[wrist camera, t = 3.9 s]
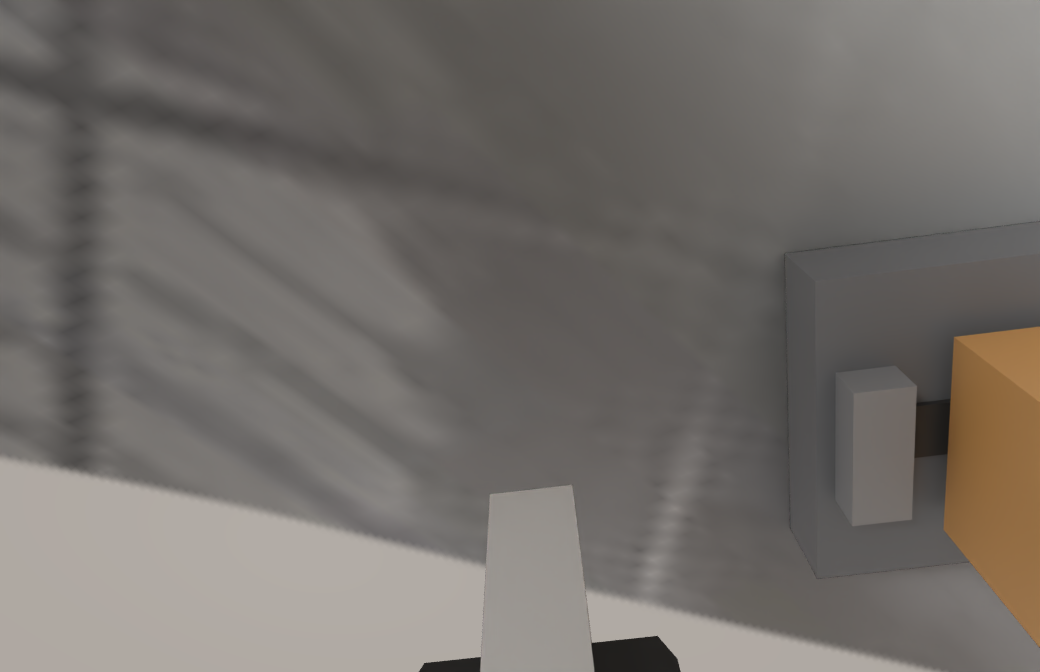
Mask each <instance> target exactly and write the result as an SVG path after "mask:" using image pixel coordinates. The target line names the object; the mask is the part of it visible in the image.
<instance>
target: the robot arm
mask: <svg viewBox="0 0 1040 672" xmlns="http://www.w3.org/2000/svg"><path fill="white" fill-rule="evenodd" d="M483 612H484V613H483V629H482V649H481V657H478V658H470V659H469V658H468V659H459V660H450V661H440V662H431V663H424V665H423V667H422V668H421V669H420V671H419V672H680V668H679V664H678V660H677V658H676V657H675V656H674V655H673V653H672V652H671V651H670V650H669V649H668V648H667V646H666V645H665V644H664V643H663V642H662V641H661V640H660V638H659V637H658V636H653V637H645V638H634V639H625V640H615V641H606V642H597V643H592V641H591V632H590V625H589V615H588V607H587V599H586V591H585V583H584V574H583V566H582V558H581V550H580V542H579V534H578V526H577V518H576V510H575V502H574V494H573V486H572V485H565V486H557V487H548V488H539V489H531V490H522V491H513V492H505V493H496V494H490V501H489V519H488V537H487V556H486V574H485V592H484V611H483Z"/></svg>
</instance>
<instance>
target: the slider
mask: <svg viewBox="0 0 1040 672" xmlns="http://www.w3.org/2000/svg"><path fill="white" fill-rule="evenodd" d="M944 531H945V532H946V533H947V535H948V536H949V537H950V538H951V539H952V541H953V542H954V543H955V544H956V546H957V547H958V548H959V549H960V550H961V552H962V553H963V554H964V555H965V557H966V558H967V559H968V560H969V562H970V563H971V564H972V565H973V566H974V568H975V569H976V570H977V571H978V573H979V574H980V575H981V576H982V577H983V579H984V580H985V581H986V582H987V584H988V585H989V586H990V587H991V588H992V590H993V591H994V592H995V593H996V595H997V596H998V597H999V598H1000V600H1001V601H1002V602H1003V603H1004V604H1005V606H1006V607H1007V608H1008V609H1009V611H1010V612H1011V613H1012V614H1013V615H1014V617H1015V618H1016V619H1017V620H1018V622H1019V623H1020V624H1021V625H1022V627H1023V628H1024V629H1025V630H1026V631H1027V633H1028V634H1029V635H1030V636H1031V638H1032V639H1033V640H1034V641H1035V642H1036V644H1037V645H1038V646H1039V647H1040V327H1032V328H1024V329H1015V330H1007V331H999V332H991V333H982V334H974V335H966V336H958V337H954V347H953V365H952V383H951V402H950V420H949V438H948V456H947V475H946V493H945V511H944Z"/></svg>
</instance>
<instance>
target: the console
mask: <svg viewBox="0 0 1040 672" xmlns="http://www.w3.org/2000/svg"><path fill="white" fill-rule="evenodd" d="M785 289H786V339H787V389H788V438H789V488H790V529H791V530H792V532H793V534H794V536H795V538H796V540H797V542H798V544H799V546H800V547H801V549H802V551H803V553H804V555H805V557H806V559H807V561H808V563H809V565H810V566H811V568H812V570H813V572H814V574H815V576H816V578H817V579H822V578H831V577H839V576H848V575H857V574H866V573H875V572H884V571H893V570H902V569H911V568H920V567H929V566H938V565H947V564H955V563H964V562H969V560H968V559H967V558H966V557H965V555H964V554H963V553H962V552H961V550H960V549H959V548H958V547H957V546H956V544H955V543H954V542H953V541H952V539H951V538H950V537H949V536H948V535H947V533H946V532H945V531H944V511H945V493H946V475H947V456H948V438H949V420H950V402H951V383H952V365H953V347H954V337H958V336H966V335H974V334H982V333H991V332H999V331H1007V330H1015V329H1024V328H1032V327H1040V221H1038V222H1030V223H1022V224H1015V225H1007V226H999V227H991V228H983V229H975V230H967V231H959V232H951V233H943V234H935V235H927V236H920V237H912V238H904V239H896V240H888V241H880V242H872V243H864V244H856V245H848V246H840V247H832V248H824V249H817V250H809V251H801V252H793V253H785Z"/></svg>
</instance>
